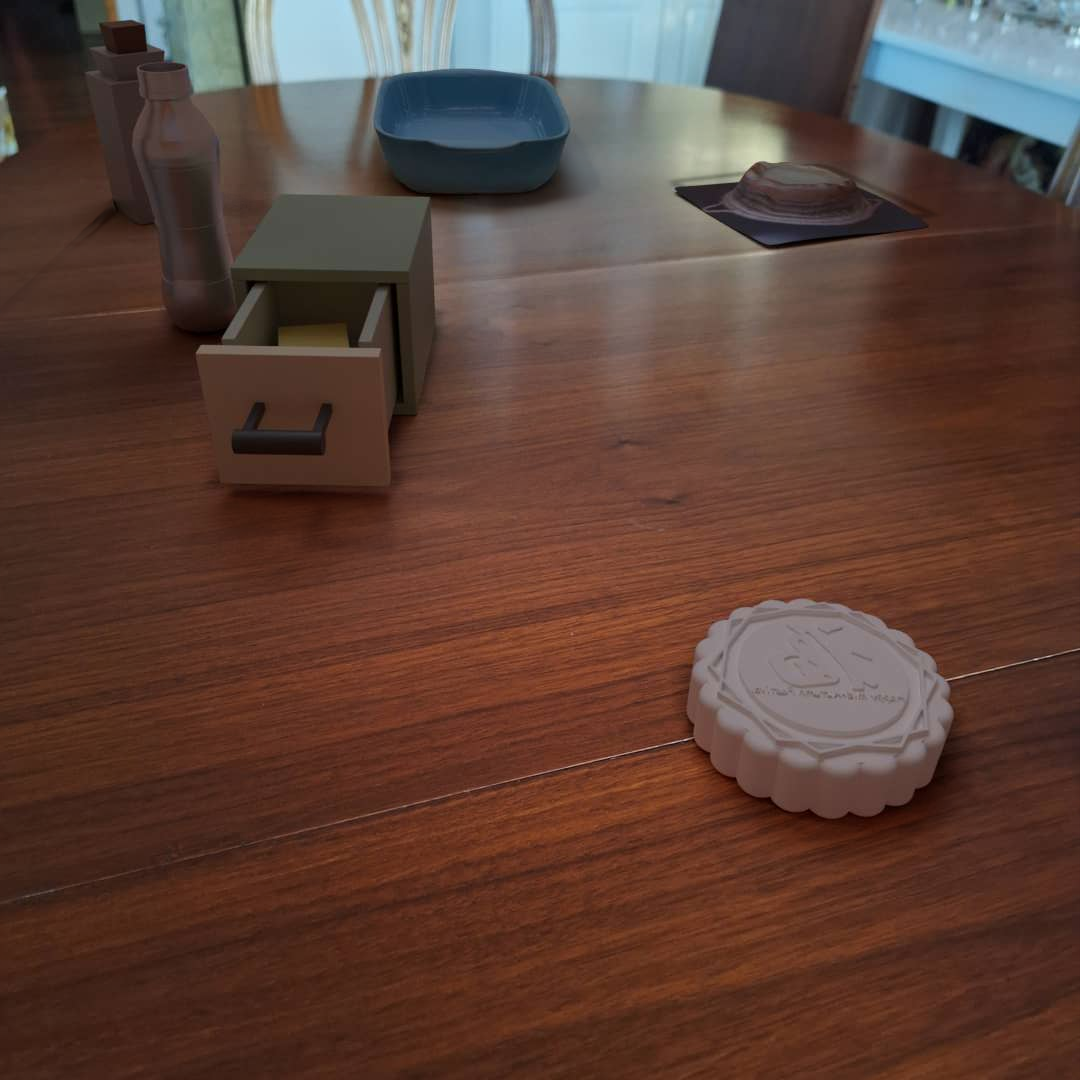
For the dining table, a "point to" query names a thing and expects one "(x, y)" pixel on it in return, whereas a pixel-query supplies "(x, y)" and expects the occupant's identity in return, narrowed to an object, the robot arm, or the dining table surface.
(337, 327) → the block
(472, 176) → the casserole dish
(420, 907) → the dining table surface
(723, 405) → the dining table surface
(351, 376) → the drawer
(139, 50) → the perfume bottle
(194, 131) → the plastic bottle
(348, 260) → the cabinet
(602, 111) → the dining table surface
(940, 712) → the mooncake
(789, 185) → the round mound on square
